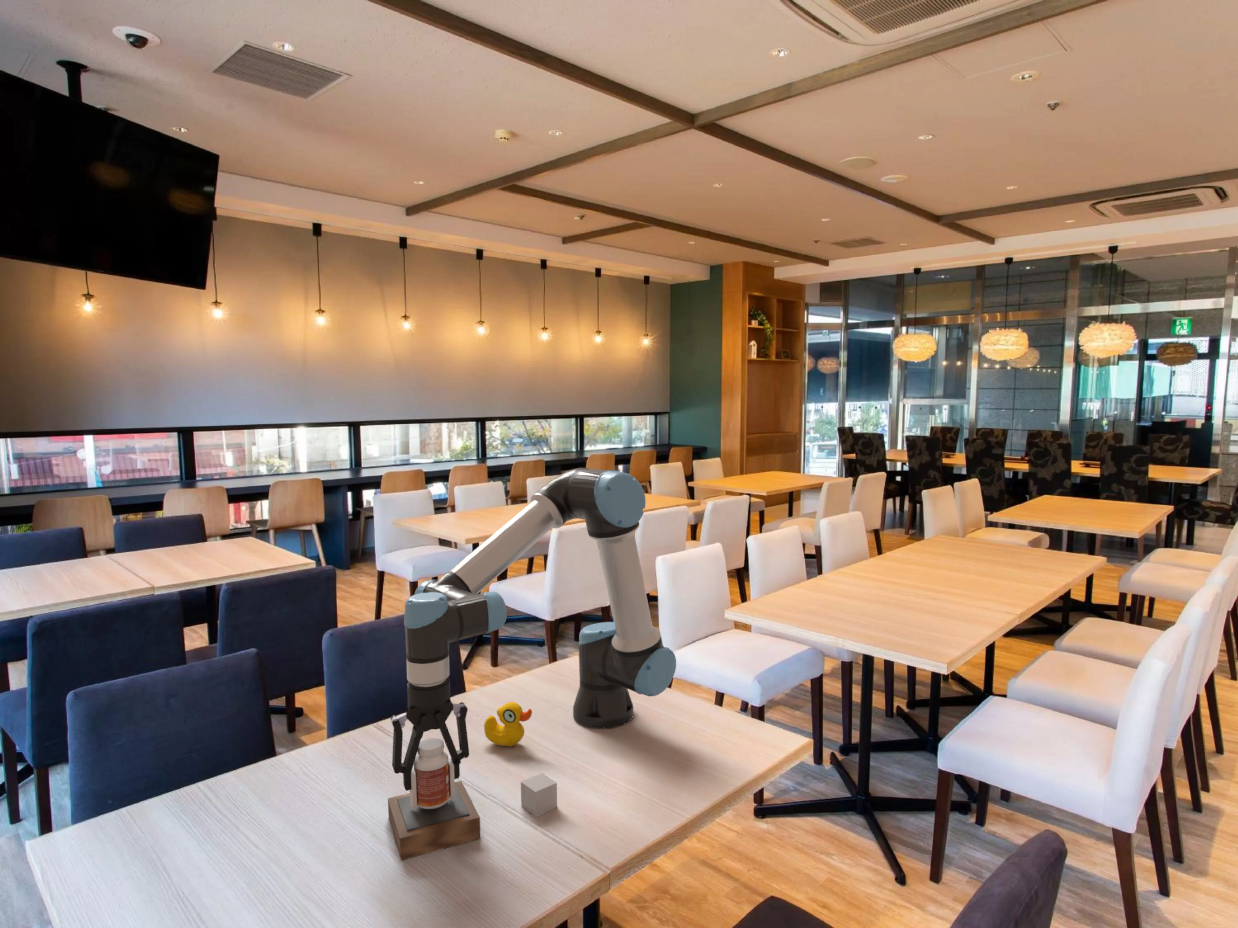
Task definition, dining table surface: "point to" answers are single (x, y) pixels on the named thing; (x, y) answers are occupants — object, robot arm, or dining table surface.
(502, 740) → the duckling
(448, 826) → the podium
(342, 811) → the dining table surface
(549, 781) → the stone block
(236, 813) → the dining table surface
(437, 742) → the pill bottle
